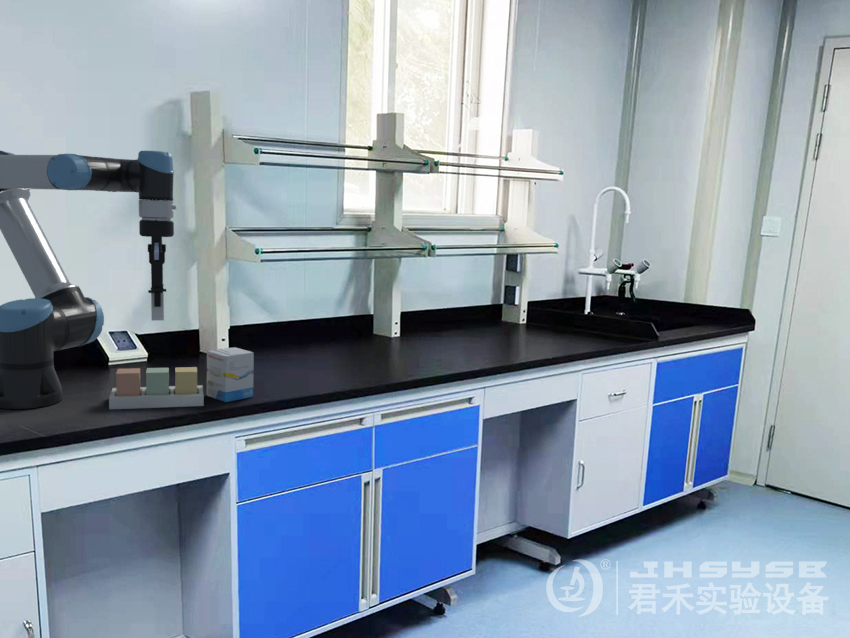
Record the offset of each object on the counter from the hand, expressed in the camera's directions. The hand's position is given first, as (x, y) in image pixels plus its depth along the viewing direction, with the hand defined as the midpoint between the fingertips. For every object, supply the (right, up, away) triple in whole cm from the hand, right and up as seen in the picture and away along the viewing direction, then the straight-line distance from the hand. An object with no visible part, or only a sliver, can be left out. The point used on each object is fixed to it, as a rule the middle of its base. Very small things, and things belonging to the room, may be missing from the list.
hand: (157, 319), depth 177 cm
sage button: (-1, -18, +3) cm, 18 cm away
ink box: (+14, -19, +11) cm, 27 cm away
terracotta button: (-7, -18, +1) cm, 19 cm away
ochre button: (+5, -18, +5) cm, 19 cm away
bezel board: (-1, -20, +3) cm, 20 cm away
